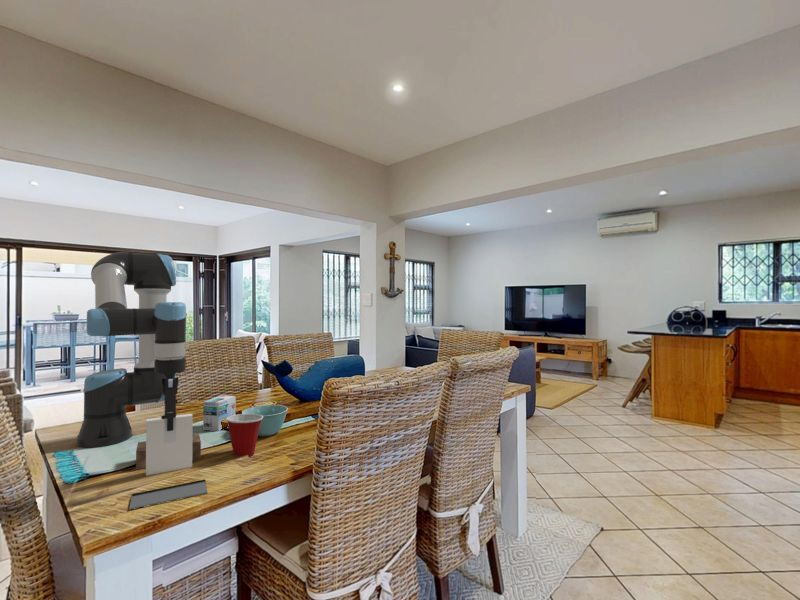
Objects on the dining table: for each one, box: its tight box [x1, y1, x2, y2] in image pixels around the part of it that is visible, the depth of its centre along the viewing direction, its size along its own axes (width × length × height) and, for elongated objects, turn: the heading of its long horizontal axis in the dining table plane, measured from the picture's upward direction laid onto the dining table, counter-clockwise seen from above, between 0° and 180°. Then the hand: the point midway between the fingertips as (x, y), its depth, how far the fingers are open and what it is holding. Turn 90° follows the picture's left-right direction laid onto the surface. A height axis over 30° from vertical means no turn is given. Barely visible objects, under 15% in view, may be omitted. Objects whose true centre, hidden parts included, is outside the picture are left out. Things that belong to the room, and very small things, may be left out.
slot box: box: [135, 432, 202, 471], centre depth 117 cm, size 16×8×6 cm, turn 120°
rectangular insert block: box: [145, 413, 194, 476], centre depth 110 cm, size 11×2×15 cm, turn 120°
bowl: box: [241, 404, 289, 437], centre depth 144 cm, size 16×16×8 cm
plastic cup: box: [226, 413, 263, 458], centre depth 123 cm, size 11×11×12 cm
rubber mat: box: [129, 479, 208, 511], centre depth 103 cm, size 16×20×1 cm
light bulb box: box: [202, 394, 237, 432], centre depth 150 cm, size 11×7×11 cm, turn 168°
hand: (169, 434), depth 110 cm, fingers open, 13 cm apart
